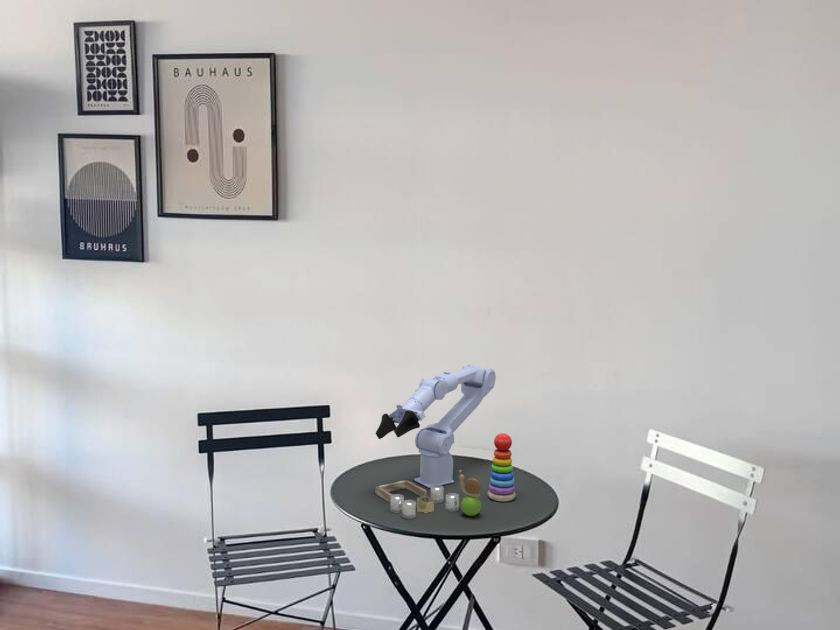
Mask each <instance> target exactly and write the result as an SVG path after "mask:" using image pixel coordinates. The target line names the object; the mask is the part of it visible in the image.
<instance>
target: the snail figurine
mask: <svg viewBox="0 0 840 630" xmlns="http://www.w3.org/2000/svg"><path fill="white" fill-rule="evenodd" d="M462 471H463V470H462V469H460V470H459V471H458V473H459V484H460V488H461V490H462V492H463V494H465V495H466V496H465V497H463V499H462V500H461V502H460V508H461V511H462V512H463V513H464V514H465V515H467V516H469V517H473V516H476V515H477V514H479V513H480V512H481V510H482V509H481V508H482V502H481V500H480V499H479V496H481V493H480V492H481V489H482V486H481V482H480V481H479V480H478V479H477V478H474V477H470V478H468V479H466V481H464V480H465V475H464V474H462Z"/></svg>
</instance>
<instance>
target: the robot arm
mask: <svg viewBox="0 0 840 630" xmlns="http://www.w3.org/2000/svg"><path fill="white" fill-rule="evenodd" d="M496 378H497V375H496V372H495V370H494V369H493V368H486V367H480V366H474V365H471V364H466V365H463V366H462V368H461V369H460V370H457V371H456V372H454V373H453V372H451V371H448V370H446V371H443V374H440V375H435V376H434V377H432V378H430V377H425V378H424V379H423V378H421V379H420V381H419V382H418V386H417V388H416V389H415V391H414V393H413V394H412V395H410V397H409V398H407V400H406V401H405V402H404V403H403V404H402V403H397V405H396V407H395V408H396V409H395V410H393V412H391V413H390V414H389V413H383V414H382V415H381V419H380V424H379V426H378V428H377V429H376V431H375V435H376V437H377V439H379V440H381V439H383V438H384V437H386V436H387V435H389V434H390V433H391V432H394V434H395V435H396V437H397V438H400V437H402V436H404V435H406V434H407V433H409V432H412V431H413V430H416V429H419V428H420V427H421V424H420V423H419V421H423V420H424V419H425V418H426V415H425V411H427V409H428V408H429V407H430V406H431V405H432V404H433V403H434V402H435V401H440V400H441V401H442V400H443V399H444V398H445V397H446V395H447V394H449V393H452V392H453V391H455V390H457V388H458V386H459V385H460V392H461V393H462V395H463V396H462V397H461V398H459V400H458V401H457V402H456V403H455V404H454V405H453V406H452V407H451V408H450V409H449V411H448V412H446V413H445V414H444V416H443V417H441V419H440V420H439V421H438V422H436V423H431V424H427V425H426V426H425V427H423V428H420V429H419V430H418V431H417V433H416V434H415V437H414V444H415V447H416V448H417V450H418V453H419V454H420V461H419V462H420V466H419V469H420V470H419V477H415V478H414V479H413V480H414V482H417V483H418V484H421V485H422V486H424V487H426V488H428V489H431V486H433V485H441V486H443V485H444V486H445V485H448V484H449V485H450V484H453V483H455V481H454V479H453V476H454V475H453V470H454V459H453V455H452V454H451V453H450V451H451V448H452V446H453V444H454V443H455V434H454V433H455V432H456V430H458V428H459V427H460V426H461V425H462V424H464V423H463V422H465V420H466V419H467V418H468V417H469V416H470V415H471V414H472V413H474V411H475V410H476V409H477V408H478V406H479V405H480V404H481V402H482V401H483V400H484V398H485V397H486V396H488V394H489V393H490V392H491V391H492V390H493V389H494V387H495V384H496V380H497V379H496ZM396 424H397V425H396Z"/></svg>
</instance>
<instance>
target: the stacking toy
mask: <svg viewBox="0 0 840 630" xmlns="http://www.w3.org/2000/svg"><path fill="white" fill-rule="evenodd" d="M512 444H513V440H512V437H511V436H510V435H509V434H508V433H503V432H502V433H498V434H497V435H496V436H495V437H494V439H493V445H494V447H495V448H496V449H495V450H494V451H493V457H492V464H491V472H490V478H489V484H488V491H487V496H488V498H490V499H492V500H493V501H497V502H509V501H512V500H514V499H515V497H516V495H517V494H516V492H515V490H516V489H515V488H516V486H515V478H514V476H515V474H514V471H513V469H514V466H513V464H512V463H513V459H512V451H511V450H510V449H511V447H512Z"/></svg>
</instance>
